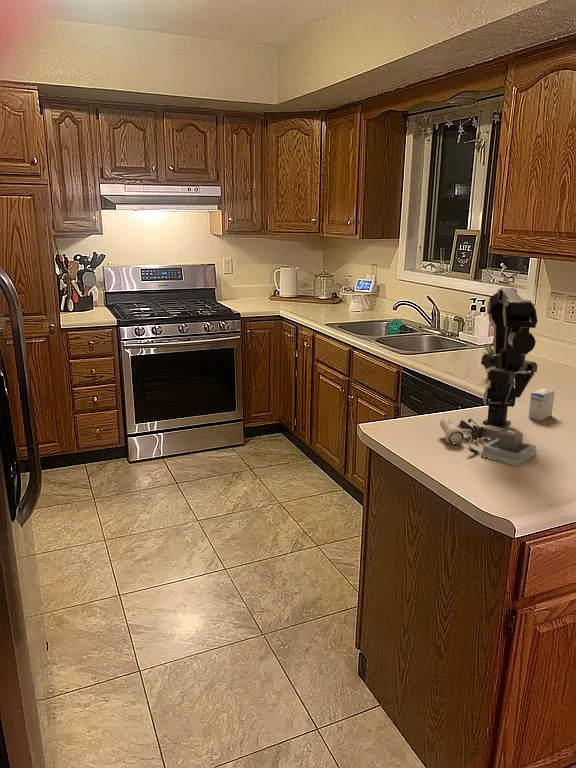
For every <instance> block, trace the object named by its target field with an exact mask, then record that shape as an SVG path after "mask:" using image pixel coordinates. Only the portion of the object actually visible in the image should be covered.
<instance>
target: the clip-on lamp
mask: <svg viewBox="0 0 576 768" xmlns="http://www.w3.org/2000/svg"><path fill="white" fill-rule="evenodd" d="M439 426H440V429H442V431H443V432H444V433H445V434H444V435H445V436H444V437H445V440H446V442H447V443H449V444H450V445H453V446H455V445H454V444H453V443H455V444H457V445H458V444H459V445H460V444H461V443H462V442H463V440H464V438H465V436H470V439H469V442H468V444H469V445H473V444H474V443H477V442H480V441H483V440H486V439H487V438H488V439H490V441H489V440H488V443H490V442H492V441H491V438H490V437H484V438H482V435H483V432H484V427H485V426H482V425H481V426H479V425H478V424H477V423H476V422H475V421H474V420H473V419H472V418H469V419H468V420H467V421H466V420H464V419H461V420H460V421H459V424H457V425H455V424H454V423H453V421H452V420H451V419H450V418H449V417H444V418H442V419H440V422H439ZM477 438H479V439H477ZM472 439H474V440H475V441H473V440H472ZM466 449H467V450H468V451H469V452H471V453H473V454H476V455H478V454H477V453H479V452H482V451H483V449H482V450H481V451H479V450H477V449H475V448H472V447H471V446H470V447H469V446H468V448H467V447H466ZM479 454H480V453H479Z"/></svg>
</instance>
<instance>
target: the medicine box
mask: <svg viewBox="0 0 576 768" xmlns="http://www.w3.org/2000/svg"><path fill="white" fill-rule="evenodd" d="M554 399H555V390H552V389H549V388H542V387H541V388H540V389H537V390H535V391H533V392H531V393H530V400H529V401H530V402H529V411H528V419H531V420H536V421H541V422H542V421H543V420H545V419H547V418H550V416H552V413H553V409H554V408H553V407H554V401H555V400H554Z"/></svg>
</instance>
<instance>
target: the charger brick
mask: <svg viewBox="0 0 576 768" xmlns="http://www.w3.org/2000/svg"><path fill="white" fill-rule="evenodd" d="M523 435H524V433H522V432H518V431H514V430H510V429H506V430H505V429H504V431H503V432H501V433H499V442H498V448H499V449H502V450H506V451H510V452H514V453H518V452H520V451H521V447H522V442H523V437H524V436H523Z"/></svg>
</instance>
